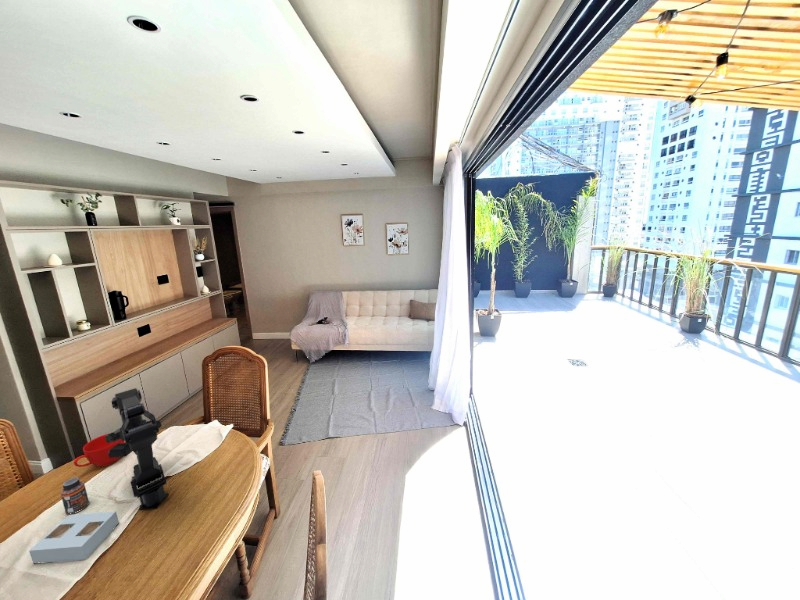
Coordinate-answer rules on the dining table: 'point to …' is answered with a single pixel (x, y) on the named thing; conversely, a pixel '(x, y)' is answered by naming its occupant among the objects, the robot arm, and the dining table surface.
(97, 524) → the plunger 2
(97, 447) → the ceramic cup
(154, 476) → the robot arm
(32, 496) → the dining table surface
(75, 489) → the supplement bottle
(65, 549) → the block
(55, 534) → the plunger
